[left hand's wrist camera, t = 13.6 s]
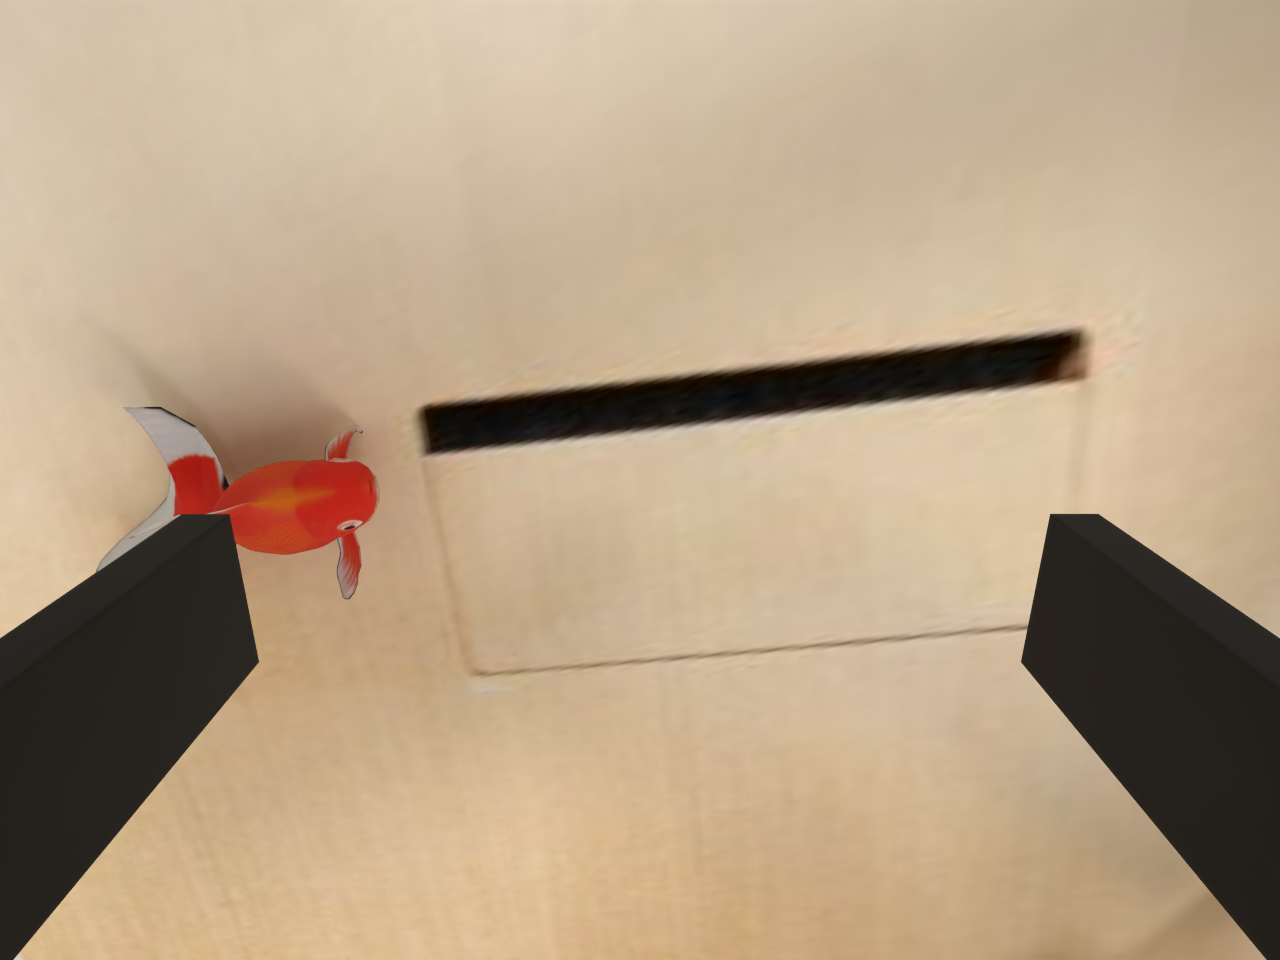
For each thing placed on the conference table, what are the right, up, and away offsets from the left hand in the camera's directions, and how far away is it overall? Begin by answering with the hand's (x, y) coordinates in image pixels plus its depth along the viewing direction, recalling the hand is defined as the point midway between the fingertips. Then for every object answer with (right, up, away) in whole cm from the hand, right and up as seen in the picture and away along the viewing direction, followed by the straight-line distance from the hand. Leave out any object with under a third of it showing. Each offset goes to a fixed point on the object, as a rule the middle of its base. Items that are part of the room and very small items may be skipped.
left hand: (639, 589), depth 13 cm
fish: (-19, +1, +26) cm, 32 cm away
